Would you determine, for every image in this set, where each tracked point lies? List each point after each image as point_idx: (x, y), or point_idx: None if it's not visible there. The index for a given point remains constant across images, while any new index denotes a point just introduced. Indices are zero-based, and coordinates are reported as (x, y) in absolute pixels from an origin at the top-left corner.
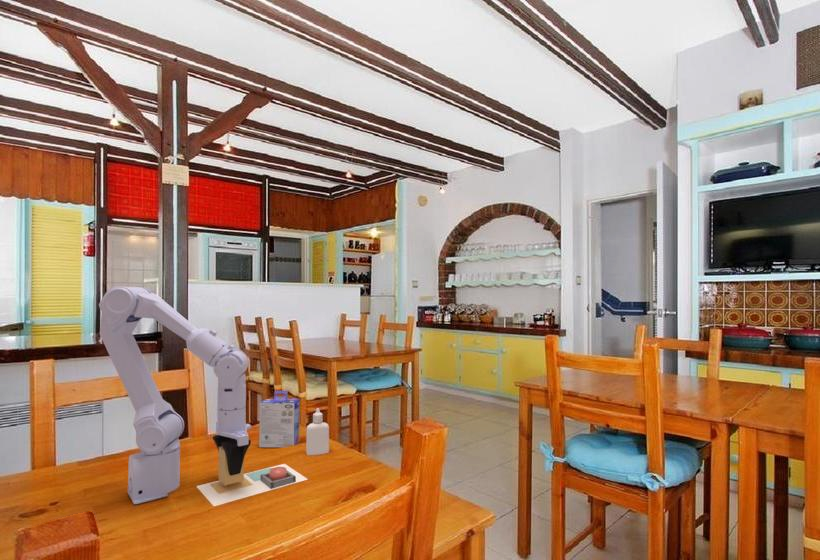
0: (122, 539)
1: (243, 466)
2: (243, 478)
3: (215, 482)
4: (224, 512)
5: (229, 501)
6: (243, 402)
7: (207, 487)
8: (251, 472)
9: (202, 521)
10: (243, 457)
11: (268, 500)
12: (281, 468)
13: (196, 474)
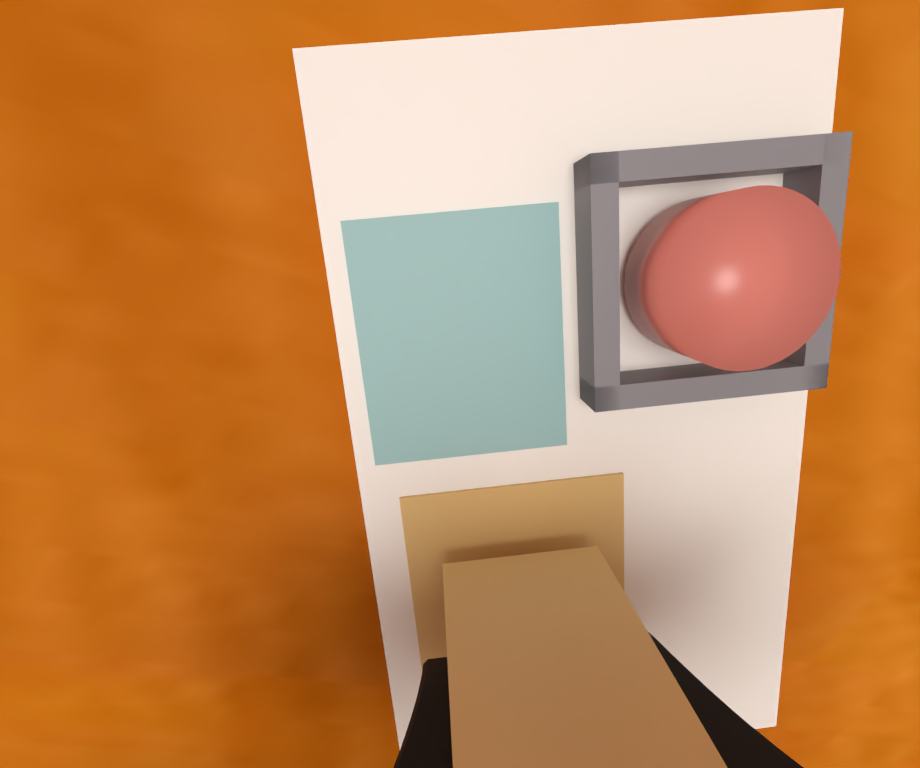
0: None
1: (645, 634)
2: (604, 559)
3: (412, 674)
4: (821, 663)
5: (779, 649)
6: None
7: None
8: (358, 415)
9: (835, 758)
10: (786, 760)
11: (866, 419)
12: (744, 236)
13: (107, 725)
